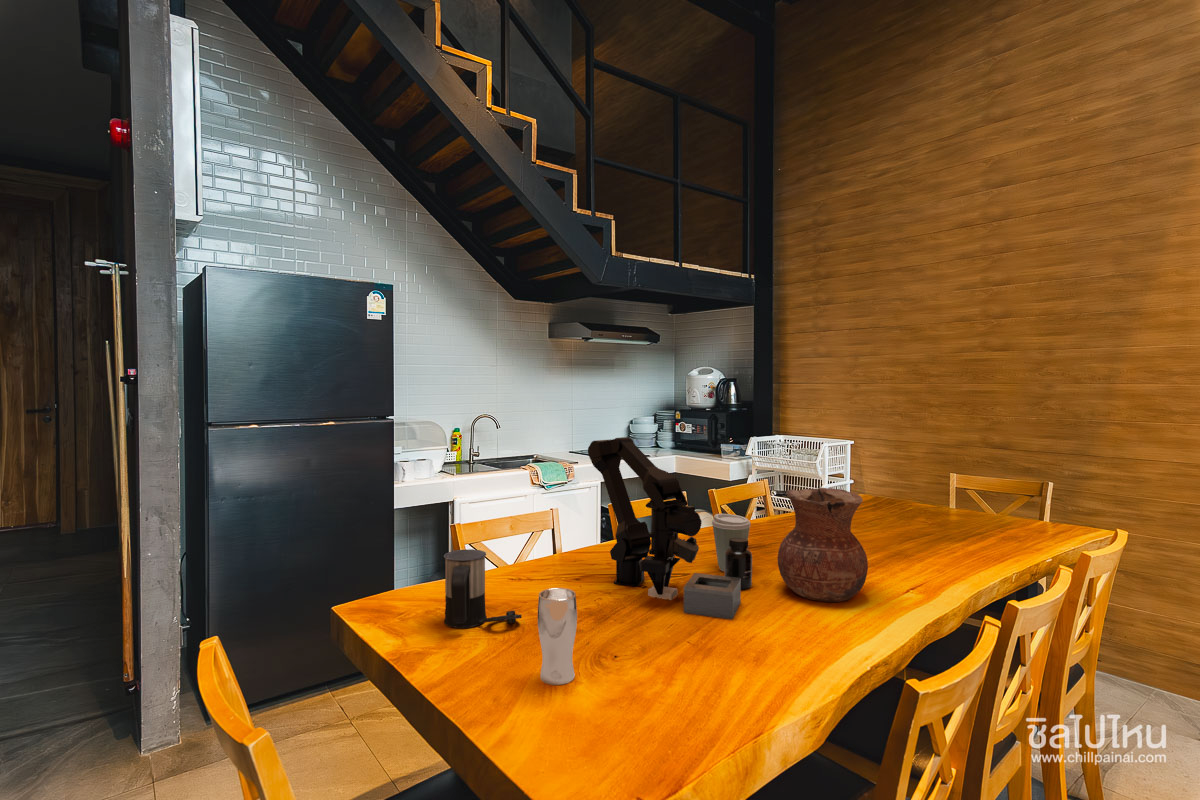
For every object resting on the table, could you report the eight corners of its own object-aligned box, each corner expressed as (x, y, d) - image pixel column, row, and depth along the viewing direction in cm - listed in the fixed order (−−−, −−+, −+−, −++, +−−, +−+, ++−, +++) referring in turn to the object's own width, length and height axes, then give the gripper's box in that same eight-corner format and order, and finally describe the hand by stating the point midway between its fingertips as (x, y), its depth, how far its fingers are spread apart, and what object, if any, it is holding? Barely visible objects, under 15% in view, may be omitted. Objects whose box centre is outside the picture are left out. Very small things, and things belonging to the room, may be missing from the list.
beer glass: (538, 669, 116) (537, 587, 116) (576, 667, 117) (576, 586, 116) (537, 687, 109) (537, 601, 109) (578, 685, 110) (577, 599, 109)
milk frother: (441, 616, 142) (441, 550, 142) (511, 607, 148) (510, 544, 147) (449, 640, 129) (449, 568, 128) (525, 630, 134) (525, 560, 134)
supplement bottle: (752, 591, 159) (752, 543, 158) (724, 589, 160) (724, 542, 160) (751, 582, 166) (751, 536, 165) (724, 581, 167) (724, 535, 166)
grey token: (648, 597, 155) (648, 589, 155) (654, 592, 159) (654, 584, 159) (671, 601, 152) (671, 593, 152) (677, 596, 156) (677, 588, 156)
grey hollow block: (683, 612, 144) (683, 586, 144) (694, 597, 154) (694, 572, 154) (732, 619, 140) (732, 592, 140) (740, 603, 150) (740, 578, 150)
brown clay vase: (876, 612, 145) (877, 502, 144) (780, 605, 149) (781, 499, 148) (857, 581, 166) (858, 486, 165) (774, 576, 170) (775, 483, 170)
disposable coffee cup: (747, 564, 181) (748, 512, 181) (753, 576, 171) (753, 521, 170) (710, 563, 182) (710, 511, 182) (713, 575, 172) (713, 520, 171)
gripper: (686, 540, 143) (686, 608, 144) (703, 522, 161) (703, 583, 161) (639, 535, 147) (639, 602, 148) (661, 519, 165) (661, 578, 165)
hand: (662, 591), depth 156 cm, fingers open, 5 cm apart
